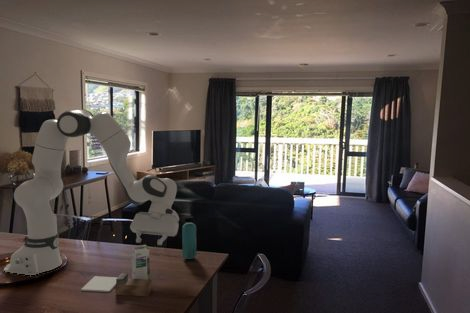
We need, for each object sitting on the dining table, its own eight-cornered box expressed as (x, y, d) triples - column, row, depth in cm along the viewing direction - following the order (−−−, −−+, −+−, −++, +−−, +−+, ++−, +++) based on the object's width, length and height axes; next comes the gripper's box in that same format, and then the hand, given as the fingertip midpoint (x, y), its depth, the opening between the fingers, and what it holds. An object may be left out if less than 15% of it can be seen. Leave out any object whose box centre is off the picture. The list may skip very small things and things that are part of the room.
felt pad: (81, 290, 137) (81, 289, 137) (94, 277, 148) (94, 276, 148) (109, 292, 136) (109, 290, 136) (121, 278, 147) (121, 277, 147)
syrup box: (135, 287, 140) (134, 251, 138) (132, 281, 145) (131, 246, 143) (150, 284, 142) (149, 248, 141) (146, 278, 148) (145, 243, 146)
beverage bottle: (194, 262, 163) (194, 219, 161) (180, 261, 165) (179, 218, 162) (198, 257, 170) (198, 215, 167) (184, 255, 171) (184, 214, 169)
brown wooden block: (115, 294, 134) (115, 279, 134) (121, 288, 139) (120, 273, 138) (147, 296, 133) (147, 280, 133) (152, 289, 138) (151, 274, 137)
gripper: (134, 207, 157) (122, 237, 148) (178, 211, 152) (168, 242, 143) (139, 215, 161) (128, 244, 153) (183, 218, 156) (173, 249, 148)
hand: (148, 243), depth 148 cm, fingers open, 8 cm apart
